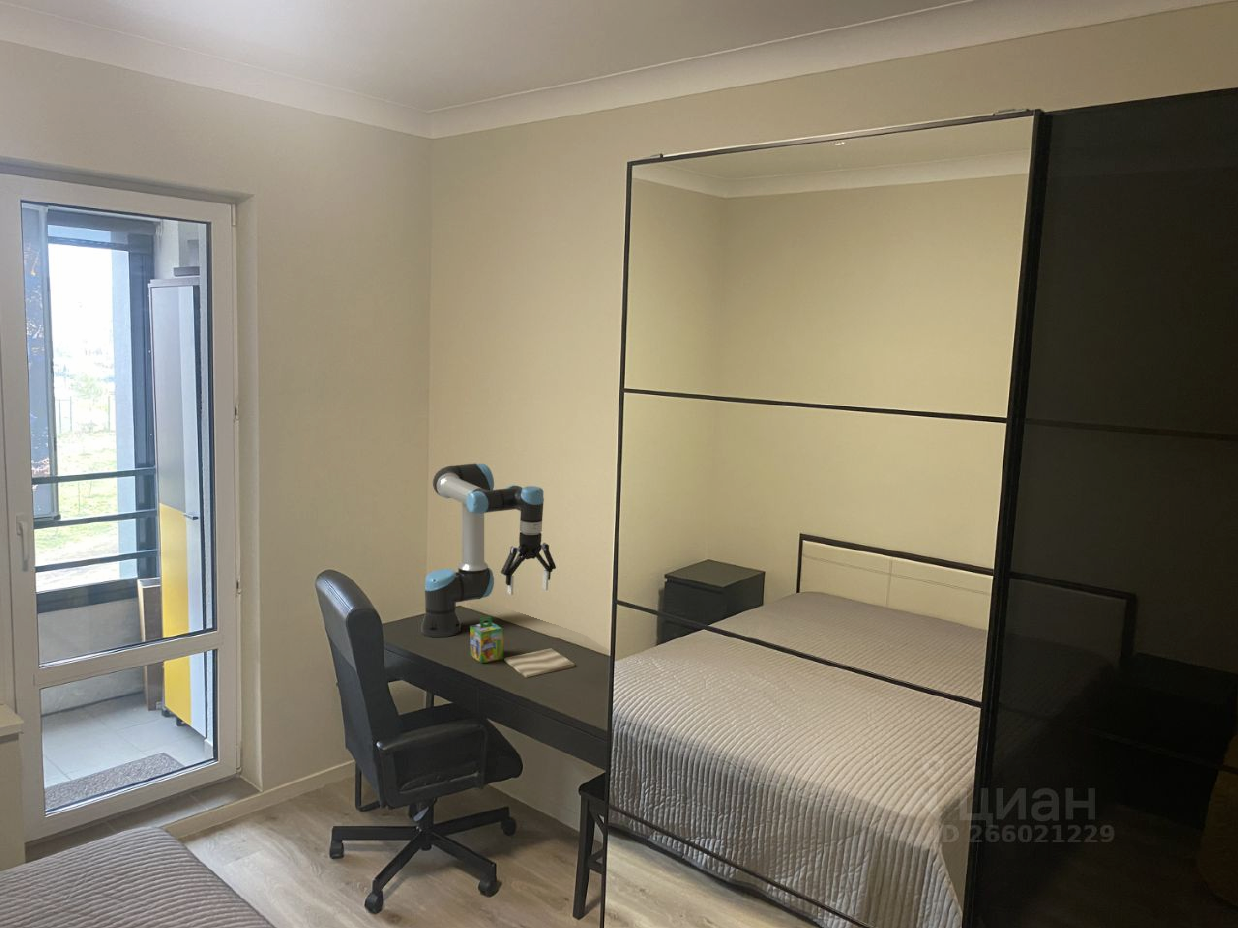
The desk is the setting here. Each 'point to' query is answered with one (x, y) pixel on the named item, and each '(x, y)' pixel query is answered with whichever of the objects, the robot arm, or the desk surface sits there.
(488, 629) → the chalk box
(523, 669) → the birch board
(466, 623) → the desk surface
